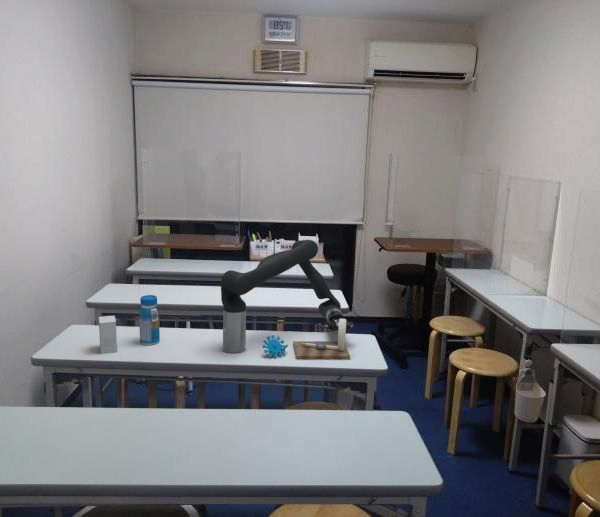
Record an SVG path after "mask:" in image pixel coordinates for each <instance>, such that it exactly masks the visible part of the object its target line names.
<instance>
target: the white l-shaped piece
mask: <svg viewBox="0 0 600 517" xmlns="http://www.w3.org/2000/svg"><path fill="white" fill-rule="evenodd" d="M346 321H347V319H346V318H345V319H339V330H338V331H337V341H338V347H337V346H328V345H326V343H323V342H318V343H316V344H310V343H303V342H302V343H301V345H305V346H314V347H316V349H319V350H324V349H326V348H333V349H337V350H339V351H344V350H345V346H346V332H347V331H346Z"/></svg>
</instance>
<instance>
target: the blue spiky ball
mask: <svg viewBox="0 0 600 517" xmlns="http://www.w3.org/2000/svg"><path fill="white" fill-rule="evenodd" d="M275 337H276V335H274V334H271V336H270V335H268V336H266V338H265V339H264V340H263V341H262V342H263V344H262V348H263V349H264V351H263V352H264V353H265V354H268V357H269V358H271V357H272V356H273V355H274V356H273V359H277V358H281V357H283V354H285V353H286V349H287V348H288V347H289V344H287V343H286V344H284V343H285V340H284V339H281V337H280V336H277V337H276V339H275ZM270 339H271V340H270ZM267 341H268V342H267ZM281 351H282V352H281ZM270 352H271V353H270Z"/></svg>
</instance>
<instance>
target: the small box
mask: <svg viewBox="0 0 600 517" xmlns="http://www.w3.org/2000/svg"><path fill="white" fill-rule="evenodd" d="M116 320H117V319H116V316H115V315H104V316H103V315H102V316H98V329H99V331H98V332H99V347H100V354H111V353H117V352H118V340H117V339H118V338H117V337H118V336H117V321H116Z"/></svg>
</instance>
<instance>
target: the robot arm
mask: <svg viewBox="0 0 600 517" xmlns="http://www.w3.org/2000/svg"><path fill="white" fill-rule="evenodd" d="M318 252H319V245H318V244H317V243H316V242H315V241H314V240H312V239H302V240H297V241H294V242H293V243H292V245H291V249H290V248H289V249H287V250H283V251H278V252H276V253H275V252H274V253H272V254H270V255H268V256H266V257H264V258H262V259H261V260H260V262H259V263H258V264H257V266H256V268H254V269H252V270H250V271H247V272H240V271H238V270H237V271H236V270H232V269H230V270H226V271H225V272H224V274H222V276H221V277H222V278H221V280H220V296H221V297H220V298H221V303H222V307H223V322H222V323H223V327H222V352H223V353H225V352H226V353H230V354H238V353H243V352H244V351H245V350H246V337H247V336H246V335H247V334H246V332H247V331H246V330H247V328H246V327H247V323H246V322H247V303H246V302H245V301H244V299H243V298H242V297H241V296H244V295H245V294H247V293H249V292H251V291H252V290H254V289H256V288H257V287H258V286H259V285H261V284H263V283H265V282H267V281H269V280H271V279H272V278H273V279H274V278H275V277H277V276H279V275H281V274H283V273H285V272H286V271H289V270H290V269H292V268H294V267H295V266H297V265H298V266H299V267H300V268H301V270H302V271H303V273H304V274H305V276H306V278H307V280H308V281H309V283H310V286H311V287H312V289H313V292H314V293H315V295H316V298H317V299H318V300H325V301H323V302H321V303H319V305H318V311H319V314H320V315H321V316H322V317H324V318H325V319H326V321H325V322H324V328H325V329H326V330H329V331H332V332H338V330H339V319H346V318H345V316H344V314H343V312H342V311H341V307H342V305H341V302H340V301H339V300H338V298H336V296H335V295H334V294H333V293H332V291H331V290H330V287H329V284H328V282H327V281H326V279H325V277H324V276H323V275H322V274H321V273H320V272H319V271H318V269H317V268H316V267H315V266H314V265H313V264H312V262H311V260H313V259H314V258H315V257H316V256H317V254H318ZM326 299H327V300H326ZM353 326H354V322H353V321H350V322H349V321H348V320H346V332H349V331H350V330H352V329H353Z"/></svg>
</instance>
